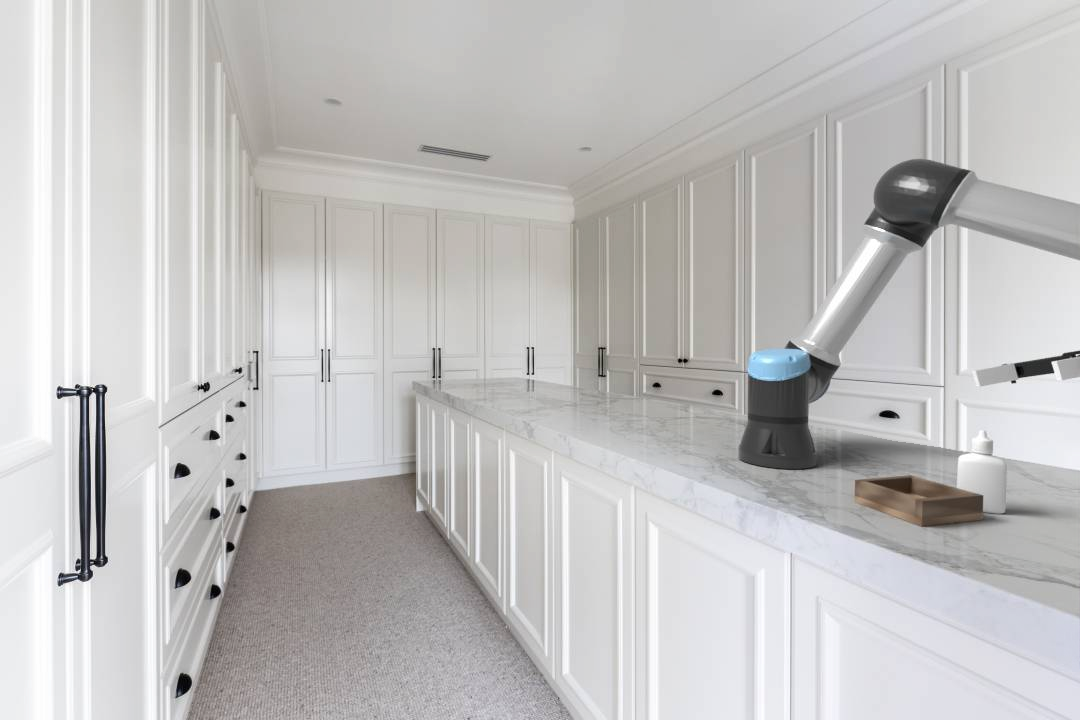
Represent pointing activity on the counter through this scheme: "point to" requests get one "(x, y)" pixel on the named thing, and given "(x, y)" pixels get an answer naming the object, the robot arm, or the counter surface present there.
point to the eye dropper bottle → (984, 474)
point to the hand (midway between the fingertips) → (1012, 375)
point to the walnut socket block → (919, 500)
